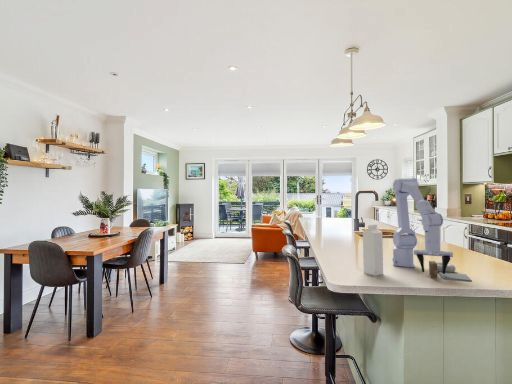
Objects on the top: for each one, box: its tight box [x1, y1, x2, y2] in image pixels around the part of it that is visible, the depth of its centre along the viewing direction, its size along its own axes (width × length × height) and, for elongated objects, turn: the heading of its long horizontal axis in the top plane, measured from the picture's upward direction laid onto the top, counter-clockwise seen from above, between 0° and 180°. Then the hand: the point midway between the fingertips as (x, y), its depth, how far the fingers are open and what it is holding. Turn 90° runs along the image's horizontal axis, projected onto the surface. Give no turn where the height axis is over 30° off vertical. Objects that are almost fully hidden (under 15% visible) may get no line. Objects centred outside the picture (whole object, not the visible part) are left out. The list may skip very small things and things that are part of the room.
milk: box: [362, 224, 384, 277], centre depth 133 cm, size 6×6×22 cm
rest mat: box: [438, 272, 473, 282], centre depth 125 cm, size 10×10×1 cm
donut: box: [435, 261, 457, 273], centre depth 136 cm, size 10×4×10 cm
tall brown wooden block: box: [428, 260, 439, 279], centre depth 127 cm, size 2×6×6 cm, turn 155°
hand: (433, 272), depth 127 cm, fingers open, 7 cm apart
